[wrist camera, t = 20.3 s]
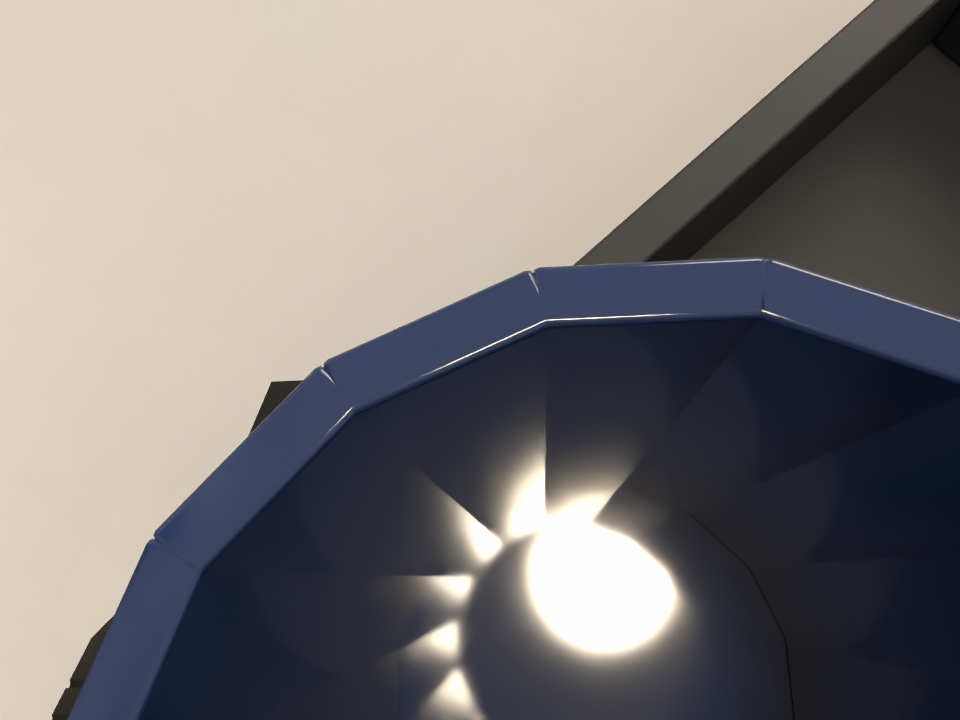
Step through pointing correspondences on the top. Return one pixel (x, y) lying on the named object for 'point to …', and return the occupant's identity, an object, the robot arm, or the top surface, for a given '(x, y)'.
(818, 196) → the tray
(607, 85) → the top surface
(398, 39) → the top surface
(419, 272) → the top surface
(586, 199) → the top surface
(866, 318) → the cup
